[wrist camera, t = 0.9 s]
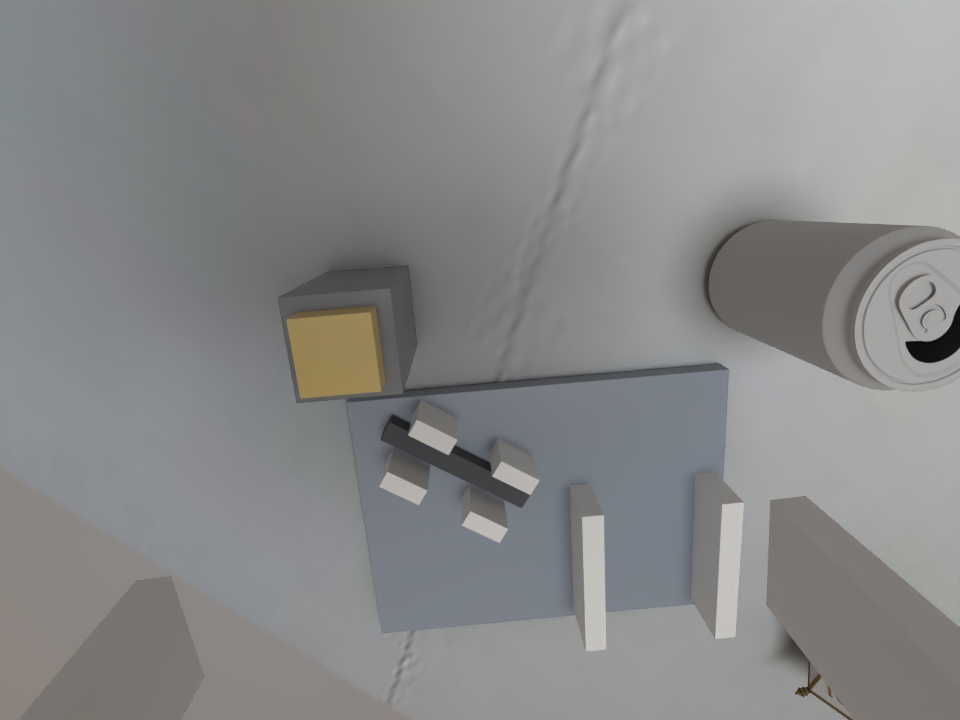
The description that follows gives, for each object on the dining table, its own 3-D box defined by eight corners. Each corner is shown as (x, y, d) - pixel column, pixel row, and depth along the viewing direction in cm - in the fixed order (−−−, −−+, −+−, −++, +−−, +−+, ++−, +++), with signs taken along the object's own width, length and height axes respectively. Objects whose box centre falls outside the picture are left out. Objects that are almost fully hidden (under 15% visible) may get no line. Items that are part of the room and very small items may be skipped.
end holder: (569, 485, 33) (582, 517, 29) (714, 472, 33) (743, 502, 30) (573, 608, 35) (585, 651, 32) (708, 596, 35) (735, 637, 32)
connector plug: (327, 272, 30) (265, 303, 20) (408, 265, 30) (385, 293, 20) (339, 350, 31) (286, 415, 22) (417, 344, 31) (399, 405, 22)
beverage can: (738, 352, 32) (895, 435, 21) (681, 268, 31) (815, 305, 19) (832, 285, 31) (1050, 331, 20) (777, 194, 30) (979, 187, 18)
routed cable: (382, 431, 31) (380, 440, 30) (392, 414, 31) (389, 422, 30) (519, 497, 33) (521, 508, 32) (529, 482, 33) (532, 492, 31)
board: (350, 395, 32) (334, 422, 28) (719, 363, 32) (756, 386, 28) (384, 619, 36) (375, 671, 32) (708, 589, 37) (739, 636, 33)
